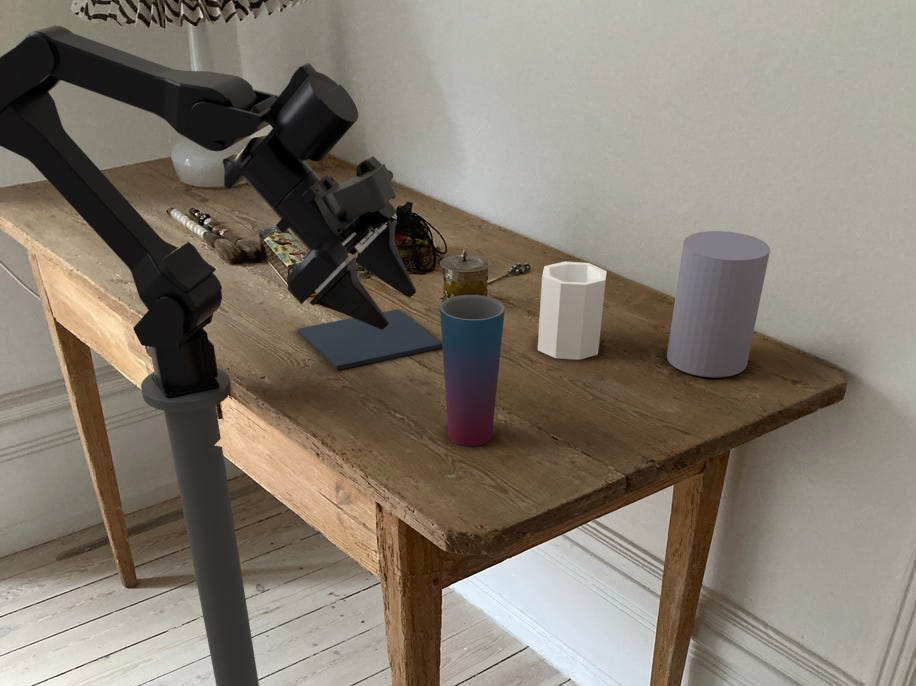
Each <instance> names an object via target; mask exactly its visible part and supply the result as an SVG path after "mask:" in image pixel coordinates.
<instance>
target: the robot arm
mask: <svg viewBox="0 0 916 686" xmlns="http://www.w3.org/2000/svg"><path fill="white" fill-rule="evenodd" d="M61 81H62V82H65V83H68V84H70V85H73V86H77V87H79V88H82V89H84V90H86V91H89V92H92V93H95V94H98V95H101V96H104V97H107V98H109V99H112V100H115V101H118V102H120V103H122V104H126V105H128V106H131V107H134V108H137V109H139V110H142V111H145V112H148V113H150V114H153V115H155V116H157V117H159V118H160V119H162V120H164V121H165V122H167V124H168V125H169V126H170V127H171V128H172V129H173V130H174V131H175V132H176V133H177V134H178V135H180V136H182V137H184V138H186V140H189V141H191V142H193V143H194V144H196V145H198V146H200V147H202V148H203V149H205V150H208V151H211V152H222V151H224V150H227V149H228V148H230V147H232V146H234V145H236V144H237V143H239V142H241V141H243V140H244V139H246V138H248V137H251V136H252V135H254V134H256V133H258V132H259V131H261V130H263V129H264V128H266V127H268V126H270V127H271V128H272V129H271V130H270V131H269V132H268V134H267V135H266V136H265V137H259V136H258V137H252V138H251V139H250V140H249V141H248V142H247V144H246V145H245V146H244V147H243V148H242V150H241V151H240V152H239V153H238V154H234V153H231V154H230V155H228V156H226V157H225V158H223V159H222V165H223V186H224V188H225V189H226V190H230V189H232V188H233V187H235V186H237V185H238V184H240V183H241V182H243V181H244V180H245V181H246V183H247V184H248V185H249V186H250V187H251V189H253V190H254V191H255V193H256V194H257V195H258V196H259V197H260V198H261V199H262V200H263V202H265V204H266V205H267V206H268V207H269V208H270V209H271V210H272V211H273V212H274V214H275V215H276V216H277V217H278V218H279V219H280V220H279V221H278V222H277V223H276V224H275V227H276V228H278V230H279V231H280V232H281V233H282V234H284V233H285V232H287V231H288V230H290V231H291V232H292V233H293V234H294V236H295V237H296V238H297V239H298V240H299V241H300V242H301V243H302V244H303V245H304V246H305V248H307V250H308V251H309V252H308V253H306V255H304V258H303V259H302V261H301V262H299V264H298V265H297V266H296V267H295V268H294V269H293V270H292V271H291V272H290V273H289V275H288V276H286V284H287V291H288V293H290V294H291V295H292V296H293V297H294V299H296V301H297V302H298V303H299V304H300V305H302V304H303V303H305V302H306V301H307V300H308V299H309V298H310V297H311V296H313V294H314V293H316V295H315V296H314V297H313V298H312V299H311V300H310V301H309V304H310V305H311V306H315V305H318V306H321V307H323V308H326V309H330V310H332V311H335V312H337V313H340V314H343V315H346V316H348V317H350V318H355V319H357V320H360V321H362V322H364V323H367V324H369V325H371V326H374V327H376V328H378V329H381V330H383V329H384V328H385V327H386V326H387V325H388V324H389V321H388V320H387V318H386V317H385V315H384V314H383V312H384V311H383V310H382V309H381V308H380V306H379V305H378V304H377V302H376V301H375V300H374V298H373V297H372V296H371V294H370V293H369V291H368V290H367V289H366V288H365V286H364V285H363V284H362V282H361V280H359V277H358V268H357V265H359V267H362V268H363V269H364V270H366V271H368V272H369V273H371V274H372V275H374V276H375V277H377V278H378V279H379V280H381V281H382V282H384V283H385V284H387V285H388V286H389V287H391V288H393V289H394V290H395V291H396V292H399V293H400V294H402V295H403V296H404V297H405V296H406V297H407V298H410V299H411V298H412V297H413V296H414V295H415V294H416V292H417V289H416V286H415V284H414V282H413V281H412V277H411V276H410V274H409V272H408V269H407V268H406V266H405V263H404V262H403V260H402V257H401V255H400V253H399V250H398V247H397V245H396V242H395V237H396V227H397V225H398V221H397V218H394V219H393V220H392V221H391V222H390V223H389V224H388V225H386V224H387V223H388V222H389V220H391V219H392V218H393V217H394V216H395V215H396V213H398V210H397V209H396V207H394V206H393V204H392V203H391V202H390V200H394V199H396V197H397V195H396V192H395V190H394V188H393V185H392V183H391V181H392V180H393V179H394V173H393V171H392V170H389V169H388V168H387V166H386V164H385V163H383V164H382V163H381V161H379V160H378V159H377V157H374V155H373V156H370V157H368V158H366V159H363V160H361V161H360V162H359V163H358V164H356V166H355V170H356V171H355V173H356V174H355V176H353V177H351V178H350V179H348V180H347V181H344V182H342V183H340V184H339V182H337V181H336V179H335V178H334V176H331V175H328V174H325V176H323V177H322V178H320V177H319V175H317V174H316V172H315V171H314V170H313V169H312V168H311V166H310V165H309V164H308V163H307V161H309V160H310V161H313V162H321V161H323V160H324V159H325V158H326V156H327V155H328V154H329V153H330V152H331V151H332V149H333V148H334V147H335V146H336V145H337V144H338V142H339V141H341V139H342V138H343V137H344V136H345V135H346V134H347V132H348V131H349V130H350V129H351V128H352V127H353V125H354V124H355V123H356V122H358V119H359V111H358V107H357V105H356V102H355V101H354V99H353V98H352V96H351V95H350V93H349V92H348V91H347V89H346V88H344V86H343V85H342V84H338V83H337V82H336V81H335V80H333V79H332V78H331V77H329V76H327V75H326V74H325V73H323V72H319V71H317V70H316V69H315V67H313V65H312V64H311V63H310V62H306V63H304V64H302V65H300V66H298V67H297V69H296V70H295V71H294V73H293V74H292V76H291V78H290V80H289V82H288V84H287V85H286V86H285V87H284V88H283V90H282V91H281V93H280V94H279V95H278V94H274V93H270V92H264V91H262V90H257V89H254V88H253V85H252V84H251V83H249V81H247V80H246V79H244V78H242V77H240V76H238V75H235V74H228V73H221V72H214V71H207V70H181V69H175V68H170V67H169V66H165V65H162V64H160V63H157V62H154V61H152V60H149V59H146V58H144V57H140V56H137V55H134V54H132V53H130V52H126V51H123V50H120V49H118V48H116V47H113V46H109V45H107V44H104V43H101V42H99V41H96V40H93V39H90V38H87V37H85V36H82V35H79V34H77V33H73V32H72V31H71V30H70V29H68V28H67V27H64V26H61V25H51V26H47V27H44V28H41V29H37V30H34V31H31V32H29V33H28V34H27V35H26V36H25V37H24V39H22V40H21V41H20V42H19V43H18V44H17V45H16V46H14V47H13V48H12V49H10V50H8V51H7V52H6V53H4V54H2V55H0V147H1V148H2V149H5V150H7V151H10V152H12V153H13V154H15V155H17V156H20V157H21V158H23V159H26V160H27V161H29V163H31V164H32V165H33V166H34V167H35V168H36V170H37V171H39V173H40V174H41V175H42V176H43V177H44V178H45V179H46V180H47V181H48V182H49V184H50V185H51V186H52V187H53V188H54V190H56V191H57V192H58V193H59V194H60V195H61V197H62V198H63V199H64V200H65V201H66V203H68V204H69V205H70V207H72V208H73V210H75V212H76V213H78V215H79V216H80V217H81V218H82V220H84V221H85V223H87V225H88V226H89V227H90V228H91V229H92V230H93V231H94V232H95V233H96V234H97V236H99V238H100V239H101V240H102V241H103V242H104V243H105V244H106V245H107V247H108V248H109V249H110V250H111V251H112V252H113V253H114V254H115V256H117V257H118V258H119V259H120V261H121V262H122V263H123V264H124V265H125V266H126V267H127V268H128V270H129V271H130V273H131V276H132V278H133V282H134V285H135V288H136V291H137V295H138V297H139V300H140V301H141V302H142V303H143V305H144V306H145V308H146V309H147V312H146V313H145V314H144V315H142V317H141V318H140V319H139V321H137V323H136V324H135V325H134V326H133V329H132V330H133V332H134V335H135V336H136V338H137V340H138V341H139V344H140V345H141V346H143V347H148V348H149V352H150V357H151V362H152V369H153V372H154V373H153V372H152V373H153V374H152V375H151V376H152V379H153V381H154V382H155V384H156V385H157V386H158V388H159V389H160V390H161V392H162V393H163V395H164V396H165V397H166V398H174V397H179V396H183V395H188V394H193V393H198V392H202V391H207V390H212V389H217V388H219V387H220V386H219V382H218V381H217V380H216V379H215V377H217V376H218V370H217V368H218V363H217V357H216V351H215V344H213V342H212V341H211V340H210V339H209V336H208V332H207V331H206V330H205V329H204V328H205V327H206V326H207V325H209V324H212V322H213V317H214V313H215V312H216V311H218V309H219V308H220V306H221V304H222V301H223V291H222V289H223V286H222V284H221V282H220V280H219V279H218V277H217V275H216V274H215V272H216V271H217V268H215V267H214V266H213V265H211V264H209V263H208V262H207V261H206V260H205V259H204V258H203V256H202V255H201V253H200V252H199V251H198V249H197V248H196V246H194V245H193V244H192V243H191V242H190V241H186V242H185V243H184V244H182V245H181V246H179V247H177V246H175V245H173V244H171V243H170V242H167V241H165V240H164V239H163V238H162V237H161V236H160V235H159V234H158V233H157V232H156V231H155V230H154V228H152V226H151V225H150V224H149V223H148V222H147V221H146V220H145V219H144V217H143V216H142V215H141V214H140V213H139V212H138V210H136V208H135V207H134V206H133V204H131V203H130V202H129V201H128V200H127V198H126V197H125V196H124V195H123V194H122V193H121V192H120V191H119V190H118V189H117V187H116V186H115V185H114V184H113V183H112V182H111V181H110V180H109V178H108V177H107V176H106V175H105V174H104V173H103V172H102V170H100V168H99V167H98V166H97V165H96V164H95V163H94V162H93V161H92V159H90V157H89V156H88V155H87V154H86V153H85V152H84V151H83V149H82V148H81V147H80V145H78V144H77V143H76V141H74V139H73V138H72V137H71V136H70V135H69V134H68V133H67V132H66V130H65V128H64V125H63V123H62V120H61V117H60V114H59V111H58V108H57V104H56V102H55V99H54V98H53V97H52V95H51V94H50V91H52V90H53V89H54V88H55V87H57V86H58V85H59V84H60V82H61ZM357 253H359V254H358V255H357V256H356V257H353V258H352V259H351V260H349V262H348V263H347V262H346V260H347V259H348V258H349V254H350V255H353V256H355V255H356V254H357Z"/></svg>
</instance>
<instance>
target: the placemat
mask: <svg viewBox="0 0 916 686" xmlns="http://www.w3.org/2000/svg"><path fill="white" fill-rule="evenodd" d="M382 312H383V314H384V315H385V317H386V318H387V320H388V321H389V324H388V325H387V326H386V327H385V328H384V329H383V330H381V329H378V328H376V327H374V326H371V325H369V324H367V323H364V322H362V321H360V320H357V319H355V318H353V317H350V318H345V319H339V320H335V321H330V322H325V323H320V324H315V325H310V326H304V327H299V328H297V332H298V334H299V335H300V336H301V337H302V338H303V339H304V340H305V341H306V342H307V343H309V345H311V347H312V348H314V349H315V350H316V351H317V352H318V354H320V355H321V356H322V357H323V358H324V359H325V360H326V361H327V362H329V364H330V365H331V366H332V367H333V368H334V369H336V370H337V371H339V370H345V369H349V368H353V367H359V366H364V365H368V364H371V363H377V362H382V361H387V360H391V359H395V358H400V357H405V356H409V355H415V354H419V353H423V352H428V351H432V350H438V349H441V348H442V349H443V347H442V341H440V340H439V339H437V338H436V337H435V336H433V334H431V333H430V332H428V331H427V330H426V329H424V328H423V327H422V326H420V325H419V324H418V323H417V322H415V321H414V320H413V319H412V318H411V317H409V316H408V315H407V314H406V313H404V312H403V311H401V309H398V308H397V309H392V310H386V311H382Z"/></svg>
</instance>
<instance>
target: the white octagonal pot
mask: <svg viewBox="0 0 916 686" xmlns="http://www.w3.org/2000/svg"><path fill="white" fill-rule="evenodd" d="M606 282H607V270H605V269H604V268H601V267H599V266H596V265H594V264H592V263H590V262H581V261H580V262H578V261H577V262H576V261H561V262H556V263H552V264H548V265H544V267H543V271H542V275H541V286H540V287H541V290H540V302H539V303H540V304H539V306H540V307H539V322H538V336H537V351H538V352H541V353H543V354H545V355H547V356H549V357H551V358H554V359H560V360H561V359H562V360H575V361H576V360H577V361H578V360H579V361H580V360H584V359H587V358H590V357H594V356H597V355H598V354H599V349H600V340H601V339H600V338H601V330H602V320H603V310H604V301H605V290H606Z"/></svg>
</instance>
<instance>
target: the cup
mask: <svg viewBox="0 0 916 686" xmlns="http://www.w3.org/2000/svg"><path fill="white" fill-rule="evenodd" d="M505 311H506V308H505V305H504V303H503V302H501V301H500V300H498V299H496V298H493V297H489V296H486V295H479V294H462V295H455V296H452V297H449V298H447V299H445V300H443V301H442V302H441V303H440V305H439V313H440V314H439V315H440V327H441V328H440V331H441V343H442V361H443V362H442V363H443V374H444V376H443V377H444V391H445V392H444V393H445V407H446V409H445V410H446V424H447V425H446V426H447V437H448V439H449V440H450V441H451V442H453V443H454V444H457V445H460V446H464V447H477V446H482V445H485V444H487V443H489V442H490V441H491V439H492V437H493V429H494V421H495V411H496V409H495V408H496V400H497V392H498V391H497V390H498V382H499V381H498V380H499V371H500V361H501V353H502V351H501V350H502V341H503V332H504V322H505V321H504V320H505Z"/></svg>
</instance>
